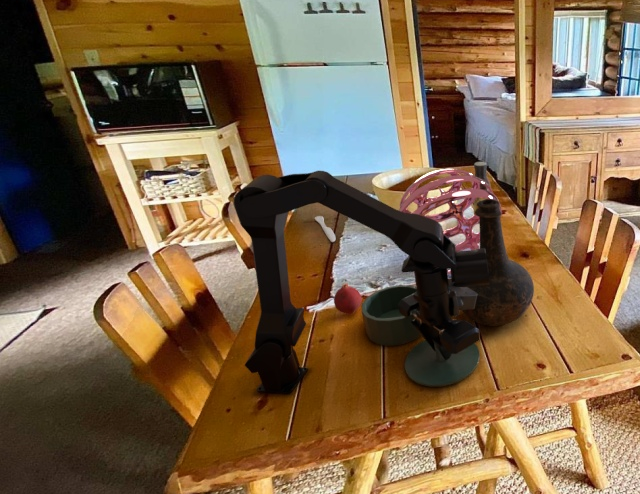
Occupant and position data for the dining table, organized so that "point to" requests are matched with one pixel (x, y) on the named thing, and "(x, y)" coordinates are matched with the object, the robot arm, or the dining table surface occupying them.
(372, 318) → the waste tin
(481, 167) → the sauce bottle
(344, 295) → the onion
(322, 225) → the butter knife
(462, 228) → the pink openwork sphere
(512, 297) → the glass bottle
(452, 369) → the tin lid
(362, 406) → the dining table surface
